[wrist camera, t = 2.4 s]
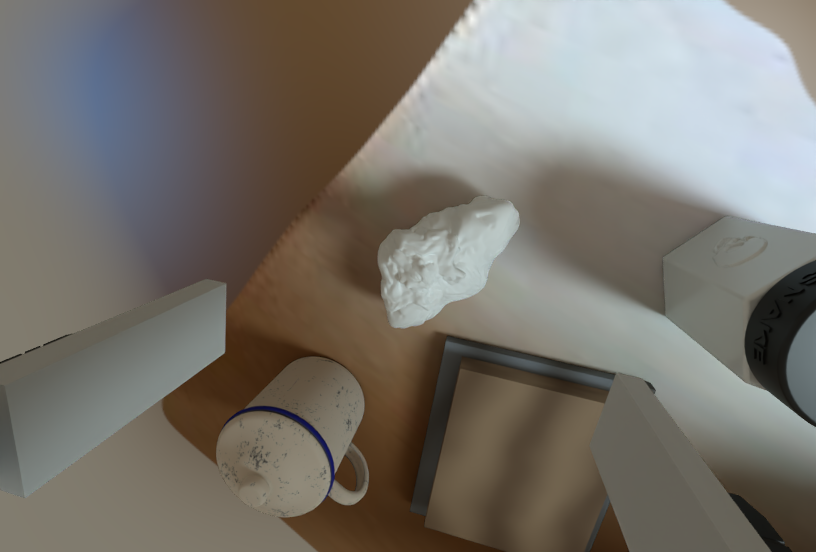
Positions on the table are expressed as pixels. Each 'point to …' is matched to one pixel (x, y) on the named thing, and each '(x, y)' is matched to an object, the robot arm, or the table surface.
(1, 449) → the robot arm
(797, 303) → the jar
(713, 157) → the table surface
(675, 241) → the table surface
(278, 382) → the teacup with lid
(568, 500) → the pedestal
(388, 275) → the bust
